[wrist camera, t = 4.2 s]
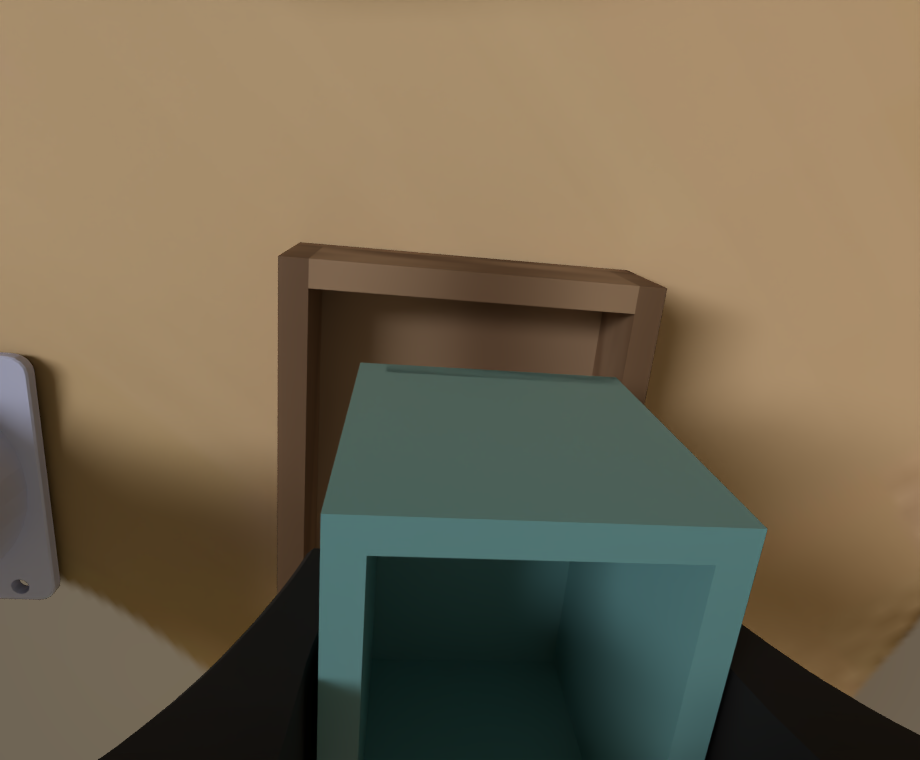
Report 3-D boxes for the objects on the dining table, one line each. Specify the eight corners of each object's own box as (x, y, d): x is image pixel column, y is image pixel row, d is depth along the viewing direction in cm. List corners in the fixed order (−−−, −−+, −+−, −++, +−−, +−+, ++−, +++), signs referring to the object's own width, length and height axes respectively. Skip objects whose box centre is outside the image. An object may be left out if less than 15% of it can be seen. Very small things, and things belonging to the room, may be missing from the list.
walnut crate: (295, 588, 21) (277, 654, 18) (300, 242, 17) (278, 255, 14) (570, 597, 22) (593, 661, 19) (627, 270, 18) (666, 288, 15)
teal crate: (349, 660, 14) (313, 950, 9) (360, 362, 12) (321, 514, 7) (567, 662, 14) (654, 939, 9) (616, 377, 12) (767, 528, 7)
